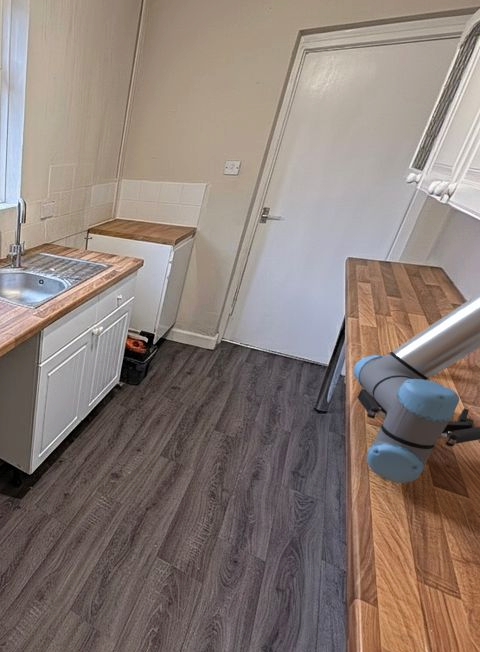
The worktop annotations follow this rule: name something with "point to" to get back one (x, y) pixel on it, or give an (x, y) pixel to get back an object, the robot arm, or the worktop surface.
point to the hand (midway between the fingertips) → (421, 400)
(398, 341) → the worktop surface
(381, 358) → the robot arm
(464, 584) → the worktop surface
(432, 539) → the worktop surface
